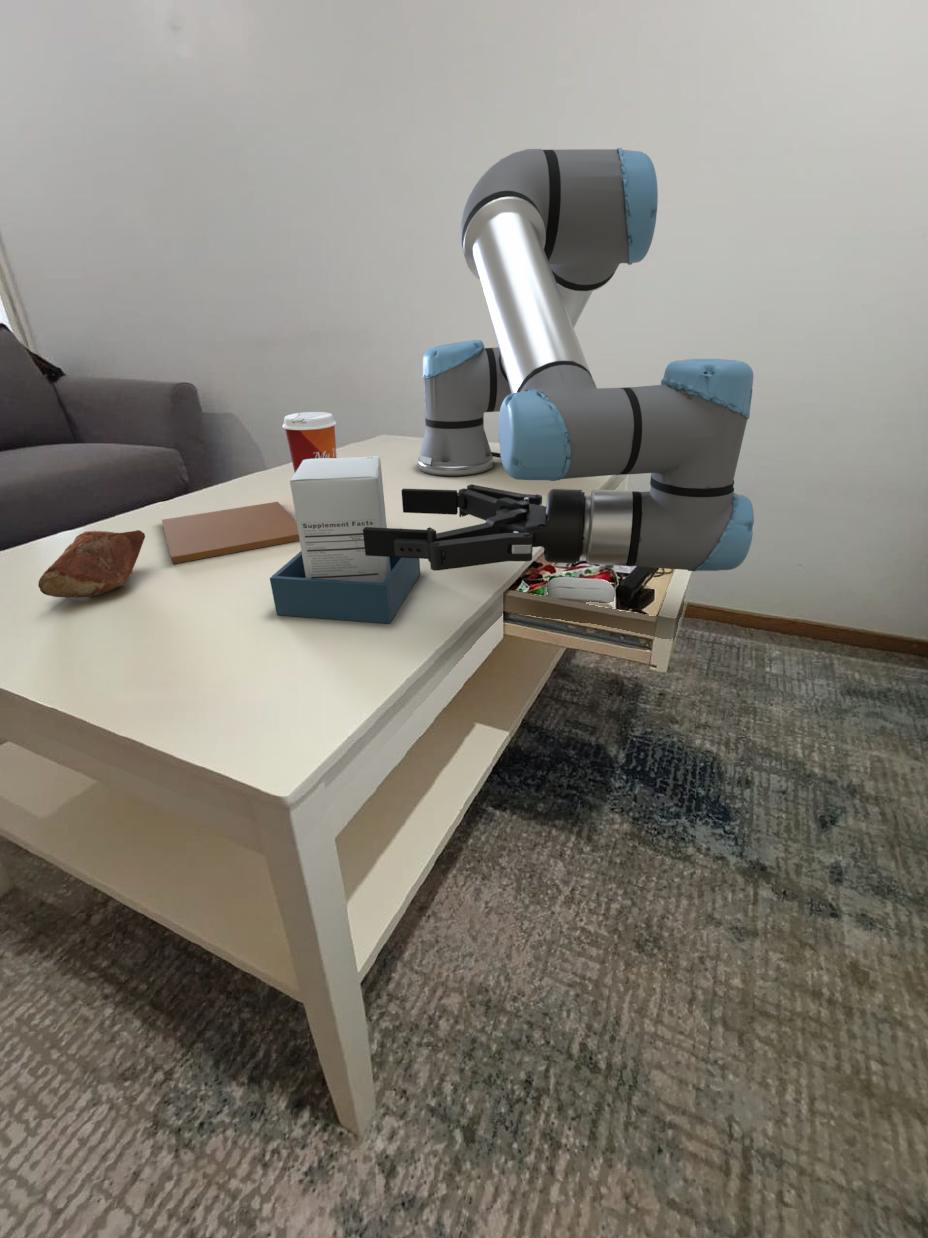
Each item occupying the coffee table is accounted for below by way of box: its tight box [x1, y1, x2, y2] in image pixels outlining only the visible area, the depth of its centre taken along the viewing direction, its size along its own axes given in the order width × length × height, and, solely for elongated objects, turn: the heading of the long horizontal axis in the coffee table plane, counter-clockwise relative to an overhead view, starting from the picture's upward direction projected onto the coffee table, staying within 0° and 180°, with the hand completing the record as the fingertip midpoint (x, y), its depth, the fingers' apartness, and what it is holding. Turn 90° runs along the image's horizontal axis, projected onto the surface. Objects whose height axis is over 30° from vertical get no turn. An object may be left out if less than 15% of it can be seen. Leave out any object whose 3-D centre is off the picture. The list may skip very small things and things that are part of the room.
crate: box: [269, 550, 421, 624], centre depth 68 cm, size 13×13×4 cm
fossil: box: [37, 529, 146, 598], centre depth 70 cm, size 13×8×10 cm
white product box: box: [289, 455, 391, 583], centre depth 66 cm, size 9×9×15 cm
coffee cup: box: [281, 411, 338, 473], centre depth 95 cm, size 8×8×15 cm
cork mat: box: [161, 501, 300, 565], centre depth 89 cm, size 18×18×1 cm
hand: (385, 519), depth 64 cm, fingers open, 13 cm apart
